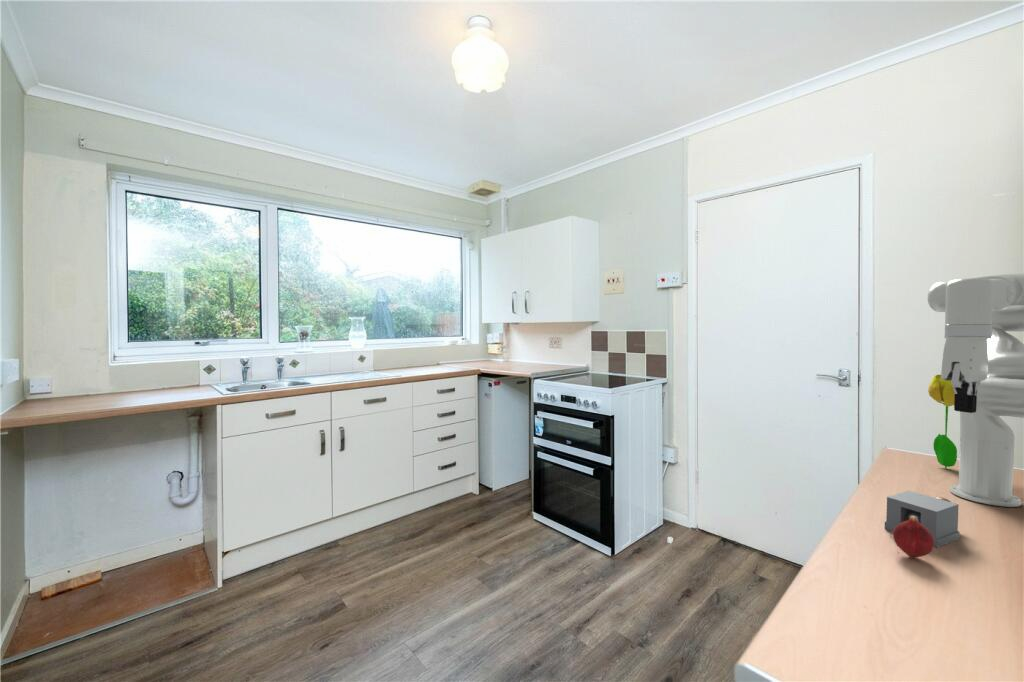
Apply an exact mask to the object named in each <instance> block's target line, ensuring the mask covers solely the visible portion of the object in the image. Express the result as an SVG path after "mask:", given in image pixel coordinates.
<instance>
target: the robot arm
mask: <svg viewBox="0 0 1024 682" xmlns="http://www.w3.org/2000/svg"><path fill="white" fill-rule="evenodd" d="M927 304H928V306H929V308H931V310H933V311H934V312H937V313H945V314H944V339H946V340H945V341H944V342H945V343H944V347H943V350H942V351H943V353H942V360H941V371H940V372H941V373H940V375H941V378H942V379H943V380H946V381H949V380H952V382H951V386H952V387H954V394H955V398H954V405H953V408H954V409H953V410H954V411H955V412H959V421H960V422H959V424H960V425H959V426H960V430H959V431H960V432H959V456H958V457H959V459H958V460H959V461H958V462H959V463H958V466H959V467H958V484H952V485H951V486H950V487H949V491H950V493H952V494H953V495H955V496H958V497H960V498H962V499H965V500H969V501H972V502H976V503H980V504H984V505H990V506H996V507H1006V508H1007V507H1008V508H1016V507H1017V508H1018V507H1021V506H1022V503H1023V502H1022V499H1021V498H1019V497H1018V496H1016V495H1013V486H1014V485H1013V482H1014V478H1013V477H1014V458H1015V433H1014V431H1013V429H1012V428H1011V427H1010V426H1009V424H1008V423H1007V422H1006V421H1005V420H1003V419H1002V418H1001V417H1011V418H1012V417H1013V418H1020V419H1024V343H1023V342H1022V341H1021V340H1019V339H1018V338H1017V337H1016V336H1014V335H1012V334H1010V333H1008V332H1024V273H1009V274H996V275H989V276H978V277H968V278H959V279H958V278H957V279H953V280H949V281H948V280H947V281H942V282H941V281H939V282H936V283H934V284H933V285H932V286H931V287H930V288H929V291H928V293H927Z"/></svg>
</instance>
